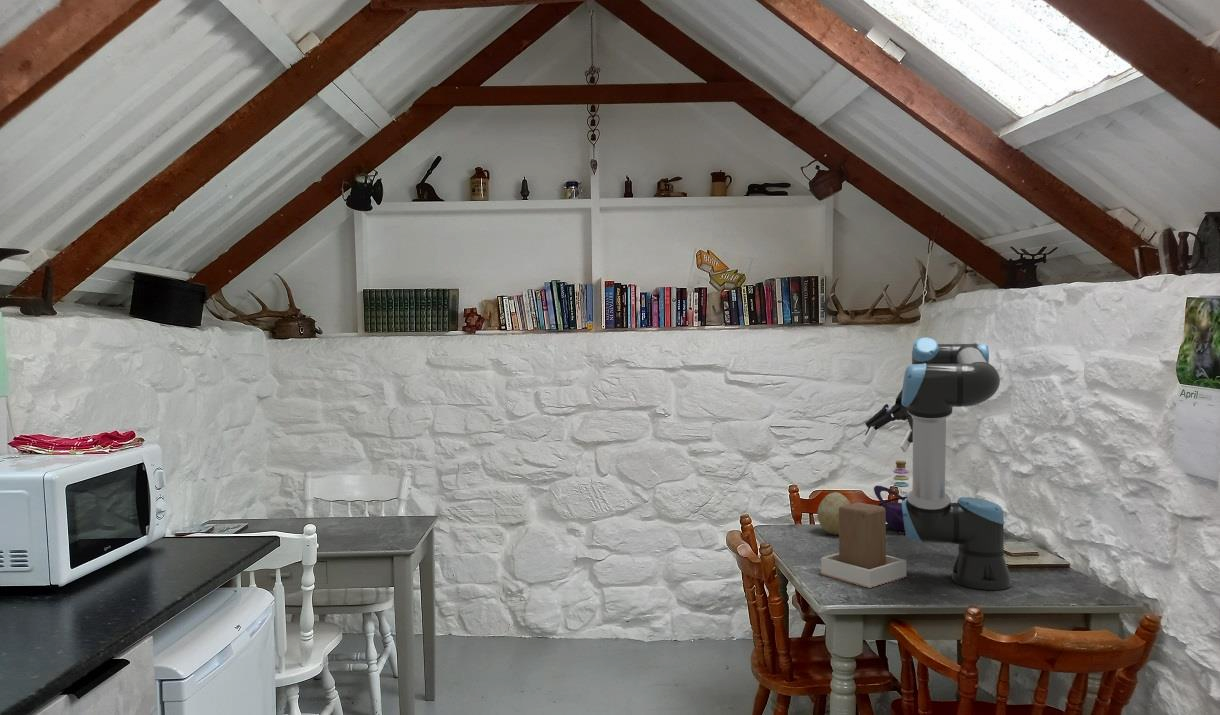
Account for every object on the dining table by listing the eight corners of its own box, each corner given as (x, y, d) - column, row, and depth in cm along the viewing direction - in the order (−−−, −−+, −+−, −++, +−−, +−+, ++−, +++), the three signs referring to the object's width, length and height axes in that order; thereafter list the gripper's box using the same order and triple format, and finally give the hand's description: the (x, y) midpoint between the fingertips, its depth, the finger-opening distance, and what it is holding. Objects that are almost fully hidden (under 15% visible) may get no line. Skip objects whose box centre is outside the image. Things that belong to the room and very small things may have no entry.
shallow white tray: (906, 577, 224) (906, 560, 224) (870, 588, 214) (870, 571, 214) (857, 564, 238) (857, 548, 238) (821, 574, 228) (821, 557, 228)
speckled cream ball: (810, 533, 276) (809, 492, 276) (832, 528, 284) (831, 487, 283) (840, 540, 266) (839, 497, 266) (862, 534, 274) (861, 492, 273)
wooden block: (867, 581, 220) (866, 511, 219) (837, 573, 228) (837, 505, 227) (887, 574, 226) (887, 506, 225) (858, 566, 234) (857, 501, 233)
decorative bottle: (926, 539, 265) (926, 467, 265) (864, 532, 276) (863, 463, 276) (936, 525, 285) (936, 458, 284) (878, 519, 295) (877, 455, 295)
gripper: (952, 406, 241) (924, 459, 233) (883, 402, 261) (855, 450, 253) (942, 390, 238) (914, 443, 229) (873, 387, 258) (845, 435, 250)
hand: (883, 447), depth 241 cm, fingers open, 13 cm apart
